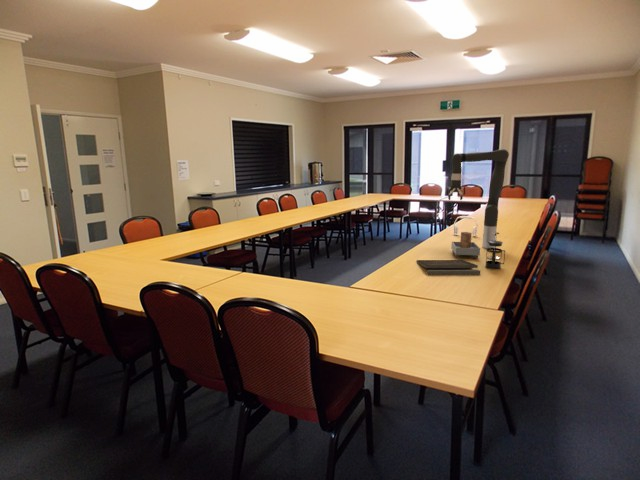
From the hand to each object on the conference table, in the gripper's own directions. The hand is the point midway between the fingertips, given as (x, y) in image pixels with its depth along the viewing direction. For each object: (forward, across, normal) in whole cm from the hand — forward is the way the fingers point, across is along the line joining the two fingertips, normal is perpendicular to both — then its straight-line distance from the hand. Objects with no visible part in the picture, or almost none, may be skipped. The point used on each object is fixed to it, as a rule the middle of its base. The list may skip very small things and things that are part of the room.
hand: (455, 200), depth 323 cm
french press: (+36, +16, -67) cm, 78 cm away
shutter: (+37, -14, -72) cm, 83 cm away
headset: (+36, +16, +37) cm, 54 cm away
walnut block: (+31, +3, -38) cm, 49 cm away
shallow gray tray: (+36, +3, -38) cm, 52 cm away
